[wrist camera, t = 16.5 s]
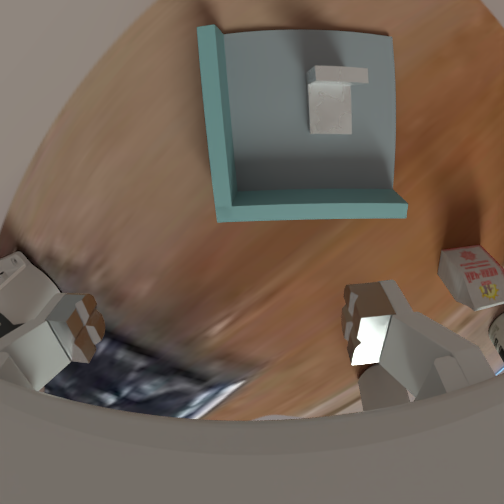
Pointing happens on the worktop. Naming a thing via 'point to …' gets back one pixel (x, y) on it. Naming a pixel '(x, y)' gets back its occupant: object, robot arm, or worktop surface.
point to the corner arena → (297, 126)
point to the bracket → (332, 97)
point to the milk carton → (472, 276)
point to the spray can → (498, 334)
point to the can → (380, 389)
